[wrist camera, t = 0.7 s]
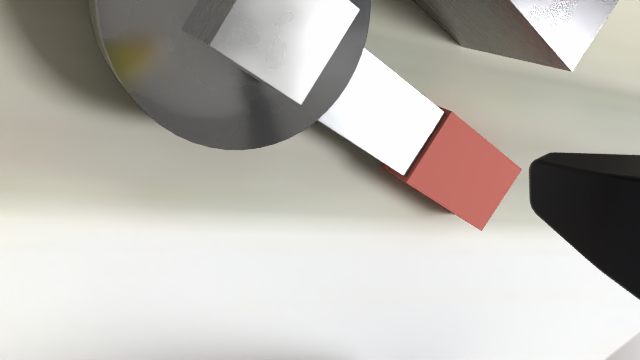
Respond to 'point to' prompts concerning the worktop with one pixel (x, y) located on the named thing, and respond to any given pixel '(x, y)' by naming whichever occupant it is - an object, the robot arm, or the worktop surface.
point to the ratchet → (294, 89)
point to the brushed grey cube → (523, 27)
